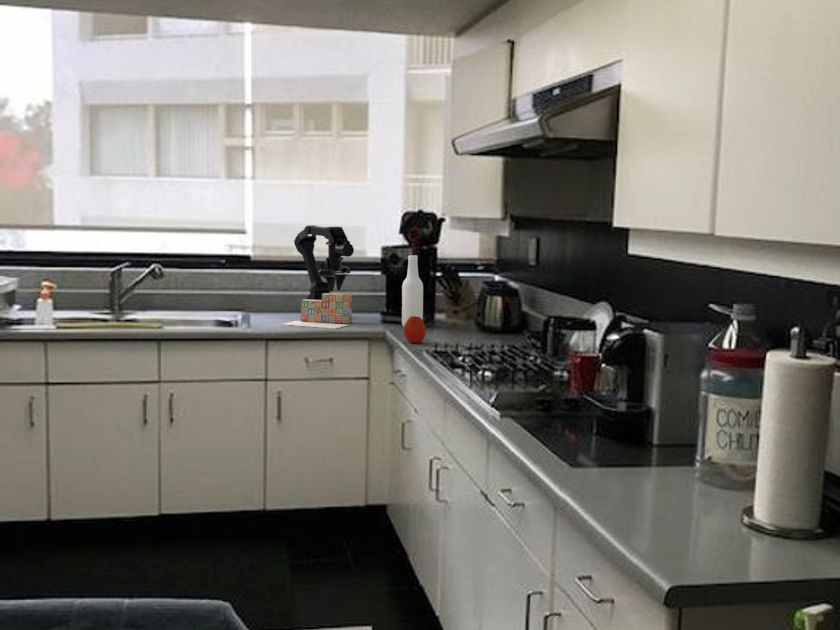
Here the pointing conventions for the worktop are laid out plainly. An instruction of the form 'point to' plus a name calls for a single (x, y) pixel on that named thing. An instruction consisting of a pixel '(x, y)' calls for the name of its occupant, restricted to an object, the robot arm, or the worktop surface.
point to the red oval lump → (414, 329)
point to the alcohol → (412, 292)
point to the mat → (316, 324)
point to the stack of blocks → (328, 309)
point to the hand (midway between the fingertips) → (334, 290)
